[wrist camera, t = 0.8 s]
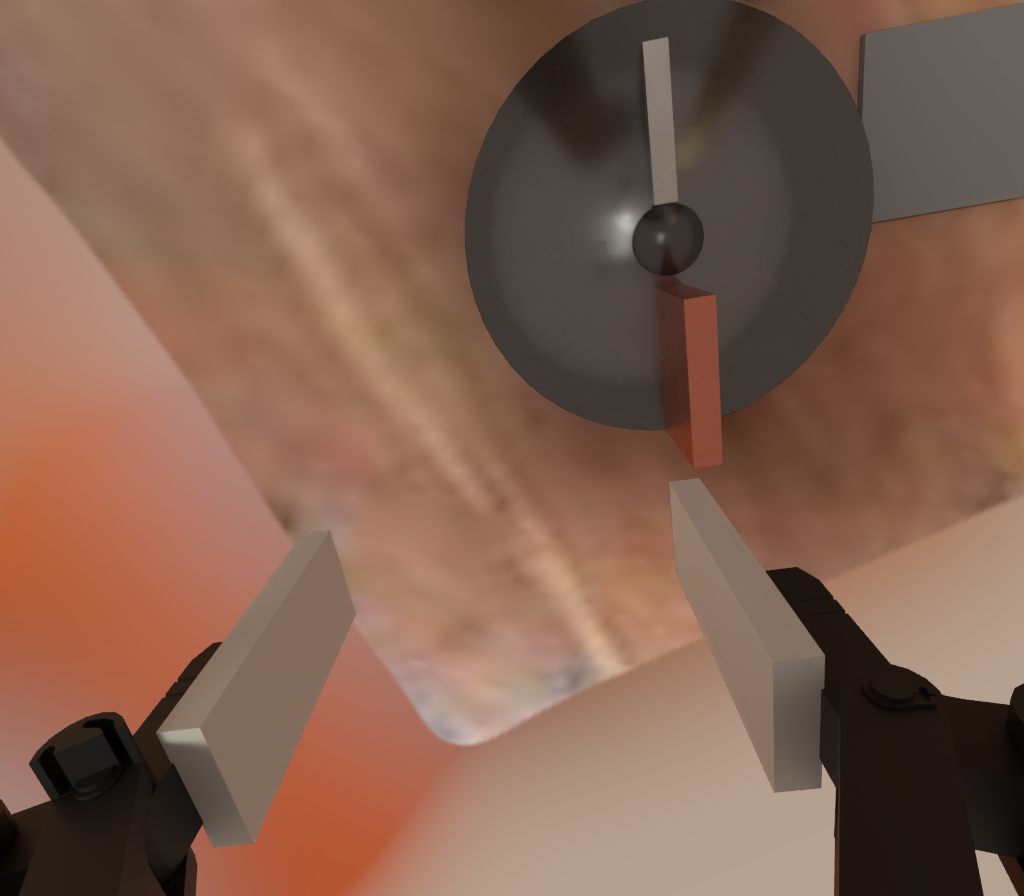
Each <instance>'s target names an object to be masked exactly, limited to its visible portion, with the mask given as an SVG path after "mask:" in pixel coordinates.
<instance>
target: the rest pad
mask: <svg viewBox="0 0 1024 896" xmlns="http://www.w3.org/2000/svg"><path fill="white" fill-rule="evenodd" d="M858 112H859V114H860V116H861V119H862V122H863V126H864V129H865V133H866V136H867V140H868V143H869V148H870V155H871V161H872V168H873V180H874V207H873V216H872V223H873V222H879V221H885V220H890V219H896V218H902V217H908V216H914V215H920V214H925V213H931V212H937V211H943V210H949V209H955V208H961V207H966V206H972V205H978V204H984V203H990V202H996V201H1002V200H1007V199H1013V198H1019V197H1024V3H1020V4H1014V5H1009V6H1004V7H999V8H994V9H989V10H984V11H979V12H974V13H969V14H963V15H958V16H953V17H948V18H943V19H938V20H933V21H928V22H923V23H917V24H912V25H907V26H902V27H897V28H892V29H887V30H882V31H877V32H872V33H866V34H864V35H863V36H861V42H860V67H859V93H858Z"/></svg>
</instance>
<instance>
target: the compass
mask: <svg viewBox="0 0 1024 896" xmlns="http://www.w3.org/2000/svg"><path fill="white" fill-rule="evenodd" d="M873 207H874V180H873V168H872V161H871V155H870V148H869V143H868V140H867V136H866V133H865V129H864V126H863V122H862V119H861V116H860V114H859V112H858V110H857V108H856V105H855V103H854V101H853V99H852V96H851V94H850V92H849V90H848V89H847V87H846V86H845V84H844V82H843V81H842V79H841V78H840V76H839V75H838V73H837V72H836V70H835V69H834V67H833V66H832V65H831V64H830V63H829V61H828V60H827V59H826V58H825V57H824V56H823V55H822V54H821V52H820V51H819V50H818V49H817V48H816V47H815V46H814V45H813V44H812V43H811V42H809V41H808V40H807V39H806V38H805V37H803V36H802V35H801V34H800V33H798V32H797V31H796V30H795V29H793V28H792V27H791V26H789V25H787V24H786V23H784V22H782V21H780V20H779V19H777V18H775V17H773V16H772V15H770V14H768V13H766V12H764V11H761V10H758V9H755V8H753V7H750V6H747V5H745V4H742V3H739V2H734V1H729V0H646V1H643V2H639V3H636V4H632V5H629V6H625V7H622V8H619V9H616V10H614V11H612V12H610V13H608V14H605V15H603V16H601V17H599V18H597V19H594V20H592V21H590V22H589V23H587V24H585V25H584V26H582V27H581V28H579V29H578V30H576V31H574V32H573V33H571V34H570V35H568V36H567V37H565V38H564V39H562V40H561V41H560V42H559V43H558V44H556V45H555V46H554V47H553V48H552V49H551V50H549V51H548V52H547V53H546V54H545V55H543V56H542V57H541V58H540V59H539V60H538V61H537V62H536V63H535V64H534V66H533V67H532V68H531V69H530V70H529V71H528V72H527V73H526V74H525V75H524V76H523V78H522V79H521V80H520V81H519V82H518V84H517V85H516V86H515V88H514V89H513V91H512V92H511V94H510V95H509V96H508V98H507V99H506V101H505V102H504V103H503V105H502V106H501V108H500V110H499V112H498V114H497V116H496V117H495V119H494V121H493V123H492V125H491V127H490V129H489V131H488V132H487V134H486V137H485V140H484V142H483V145H482V147H481V150H480V153H479V155H478V158H477V160H476V164H475V168H474V172H473V176H472V180H471V184H470V188H469V193H468V201H467V209H466V217H465V250H466V258H467V267H468V274H469V278H470V282H471V286H472V290H473V294H474V298H475V301H476V304H477V307H478V309H479V312H480V314H481V317H482V319H483V322H484V324H485V326H486V328H487V330H488V332H489V334H490V335H491V337H492V339H493V341H494V343H495V345H496V346H497V348H498V349H499V350H500V352H501V353H502V354H503V356H504V357H505V359H506V360H507V361H508V363H509V364H510V365H511V366H512V368H513V369H514V370H515V371H516V372H517V373H518V374H519V375H520V376H521V377H522V378H523V379H524V380H525V381H526V382H527V383H528V384H529V385H530V386H532V387H533V388H534V389H535V390H536V391H538V392H539V393H540V394H541V395H543V396H544V397H545V398H547V399H548V400H550V401H552V402H553V403H555V404H557V405H558V406H560V407H561V408H563V409H565V410H567V411H569V412H571V413H574V414H576V415H578V416H580V417H583V418H585V419H587V420H591V421H594V422H598V423H601V424H604V425H608V426H613V427H619V428H625V429H632V430H664V429H666V430H667V432H668V433H669V434H670V436H671V437H672V439H673V440H674V441H675V443H676V444H677V446H678V447H679V448H680V450H681V451H682V453H683V454H684V455H685V457H686V458H687V460H688V461H689V462H690V464H691V465H692V466H693V468H700V467H707V466H714V465H721V464H723V456H722V431H721V417H722V416H725V415H727V414H730V413H732V412H734V411H736V410H738V409H740V408H742V407H745V406H747V405H749V404H750V403H752V402H753V401H755V400H757V399H758V398H760V397H762V396H763V395H765V394H766V393H768V392H770V391H771V390H772V389H774V388H775V387H776V386H777V385H779V384H780V383H781V382H782V381H784V380H785V379H786V378H788V377H789V376H790V375H791V374H792V373H793V372H794V371H795V370H796V369H797V368H798V367H799V366H800V365H801V364H802V363H803V362H805V361H806V360H807V359H808V358H809V357H810V355H811V354H812V353H813V352H814V350H815V349H816V348H817V347H818V346H819V344H820V343H821V342H822V341H823V339H824V338H825V337H826V336H827V334H828V333H829V331H830V330H831V328H832V327H833V325H834V324H835V322H836V320H837V319H838V317H839V316H840V314H841V313H842V311H843V309H844V307H845V305H846V303H847V301H848V299H849V297H850V295H851V293H852V291H853V289H854V287H855V284H856V281H857V278H858V276H859V273H860V270H861V267H862V265H863V262H864V258H865V254H866V250H867V246H868V241H869V237H870V233H871V224H872V216H873Z"/></svg>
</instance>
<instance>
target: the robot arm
mask: <svg viewBox="0 0 1024 896" xmlns="http://www.w3.org/2000/svg"><path fill="white" fill-rule="evenodd" d="M669 488H670V501H671V514H672V527H673V540H674V553H675V565H676V573H677V576H678V578H679V580H680V582H681V584H682V587H683V589H684V591H685V593H686V596H687V598H688V600H689V602H690V605H691V607H692V609H693V611H694V614H695V616H696V618H697V620H698V623H699V625H700V627H701V629H702V632H703V634H704V636H705V638H706V641H707V643H708V645H709V647H710V649H711V652H712V654H713V656H714V659H715V661H716V663H717V665H718V668H719V670H720V672H721V674H722V677H723V679H724V681H725V683H726V686H727V688H728V690H729V692H730V694H731V697H732V699H733V701H734V704H735V706H736V708H737V710H738V713H739V714H740V717H741V719H742V721H743V724H744V725H745V728H746V730H747V733H748V735H749V737H750V739H751V742H752V744H753V746H754V748H755V751H756V753H757V755H758V757H759V760H760V762H761V764H762V766H763V769H764V771H765V773H766V775H767V777H768V780H769V782H770V784H771V787H772V789H773V791H774V792H786V791H795V790H805V789H816V788H821V777H822V764H823V765H824V767H825V769H826V771H827V773H828V774H829V776H830V778H831V780H832V781H833V783H834V785H835V787H836V803H835V804H836V805H835V827H834V838H835V875H834V896H984V895H983V890H982V885H981V879H980V874H979V869H978V864H977V859H976V854H975V850H980V851H985V852H990V853H995V854H998V856H999V858H1000V860H1001V862H1002V864H1003V866H1004V868H1005V870H1006V872H1007V874H1008V876H1009V878H1010V880H1011V882H1012V884H1013V886H1014V888H1015V890H1016V892H1017V894H1018V895H1019V896H1024V684H1022V685H1020V686H1018V687H1016V688H1015V689H1014V691H1013V694H1012V697H1011V700H1010V705H1006V704H997V703H990V702H982V701H974V700H966V699H960V698H954V697H950V696H945V695H942V694H941V692H940V691H939V690H938V689H937V688H936V687H935V686H934V685H933V684H932V683H930V682H929V681H928V680H927V679H926V678H924V677H922V676H920V675H918V674H916V673H915V672H913V671H911V670H909V669H906V668H903V667H899V666H896V665H892V664H890V663H889V662H888V661H887V659H886V658H885V657H884V656H883V655H882V654H881V652H880V651H879V650H878V649H877V648H876V646H875V645H874V644H873V643H872V642H871V641H870V639H869V638H868V637H867V636H866V635H865V633H864V632H863V631H862V630H861V629H860V628H859V626H858V625H857V624H856V623H855V622H854V621H853V620H852V618H851V617H850V616H849V615H848V614H846V613H845V610H844V609H843V608H842V607H841V605H840V604H839V603H838V602H837V601H836V600H834V599H833V596H832V595H831V593H830V592H829V591H828V590H827V589H826V588H825V586H824V585H823V584H822V583H821V582H820V580H818V579H817V578H815V577H813V576H811V575H810V574H808V573H806V572H805V571H803V570H801V569H799V568H798V567H793V568H785V569H777V570H769V571H765V570H764V569H763V567H762V566H761V565H760V563H759V562H758V560H757V559H756V558H755V556H754V555H753V553H752V552H751V551H750V549H749V548H748V546H747V545H746V543H745V542H744V541H743V539H742V538H741V536H740V535H739V534H738V532H737V531H736V529H735V528H734V527H733V525H732V524H731V522H730V521H729V520H728V518H727V517H726V515H725V514H724V513H723V511H722V510H721V508H720V507H719V505H718V504H717V503H716V501H715V500H714V498H713V497H712V496H711V494H710V493H709V491H708V490H707V489H706V487H705V486H704V484H703V483H702V482H701V480H700V479H699V478H694V479H687V480H680V481H673V482H669ZM355 615H356V612H355V608H354V605H353V602H352V599H351V596H350V592H349V589H348V586H347V583H346V580H345V577H344V573H343V570H342V567H341V564H340V561H339V557H338V554H337V551H336V548H335V545H334V542H333V538H332V535H331V532H330V530H326V531H319V532H312V533H305V534H302V536H301V537H300V538H299V540H298V541H297V542H296V544H295V545H294V546H293V548H292V549H291V551H290V552H289V553H288V555H287V556H286V558H285V559H284V560H283V561H282V563H281V564H280V565H279V567H278V568H277V569H276V571H275V572H274V574H273V575H272V576H271V578H270V579H269V580H268V582H267V583H266V584H265V586H264V587H263V588H262V590H261V591H260V593H259V594H258V595H257V597H256V598H255V599H254V601H253V602H252V603H251V605H250V606H249V607H248V609H247V610H246V611H245V613H244V614H243V615H242V617H241V618H240V620H239V621H238V622H237V624H236V625H235V626H234V628H233V629H232V630H231V632H230V633H229V635H228V636H227V637H226V639H225V640H224V641H223V642H217V643H213V644H212V645H210V646H209V647H208V648H207V649H205V650H204V651H203V652H202V653H200V654H199V655H198V656H197V657H195V658H194V659H193V660H192V661H191V662H190V663H189V665H188V666H187V667H186V669H185V670H184V671H183V672H182V674H181V675H180V676H179V678H178V682H175V683H174V684H173V685H172V687H171V688H170V689H169V691H168V692H167V693H166V697H165V698H162V699H161V701H160V702H159V703H158V705H157V706H156V707H155V708H154V710H153V711H152V712H151V714H150V715H149V716H148V717H147V719H146V720H145V721H144V722H143V724H142V725H141V726H140V728H139V729H138V730H137V731H136V733H135V734H134V735H133V736H132V734H131V732H130V730H129V728H128V726H127V725H126V723H125V721H124V719H123V717H122V716H120V715H119V714H117V713H115V712H102V713H99V714H95V715H92V716H89V717H85V718H84V719H82V720H79V721H77V722H75V723H73V724H71V725H69V726H68V727H66V728H65V729H63V730H62V731H60V732H59V733H57V734H56V735H54V736H53V737H51V738H50V739H49V740H48V741H47V742H46V743H45V744H44V745H43V746H42V747H41V748H40V749H39V750H38V751H37V752H36V753H35V755H34V757H33V758H32V759H31V761H30V762H29V765H30V767H31V768H32V770H33V772H34V773H35V775H36V777H37V778H38V780H39V781H40V783H41V785H42V786H43V788H44V789H45V791H46V793H47V794H48V796H49V797H50V799H51V801H48V802H45V803H42V804H40V805H37V806H34V807H31V808H29V809H26V810H23V811H20V812H18V813H15V814H12V815H11V813H10V812H9V810H8V809H7V807H6V806H5V804H4V803H3V801H2V800H1V799H0V896H196V895H195V894H196V878H197V862H196V857H195V854H194V852H193V850H192V849H191V847H190V846H191V844H192V842H193V840H194V839H195V837H196V835H197V833H198V831H199V830H200V828H201V826H202V825H203V827H204V829H205V831H206V833H207V835H208V837H209V839H210V841H211V843H212V845H213V847H223V846H233V845H244V844H253V843H254V842H255V840H256V837H257V835H258V833H259V831H260V828H261V826H262V824H263V822H264V820H265V817H266V815H267V812H268V810H269V808H270V806H271V804H272V802H273V799H274V797H275V795H276V793H277V790H278V788H279V786H280V783H281V781H282V779H283V776H284V775H285V772H286V770H287V768H288V766H289V763H290V761H291V759H292V757H293V754H294V752H295V750H296V748H297V745H298V743H299V740H300V739H301V736H302V734H303V732H304V730H305V727H306V725H307V722H308V720H309V718H310V716H311V714H312V712H313V709H314V707H315V705H316V703H317V700H318V698H319V696H320V693H321V691H322V689H323V687H324V685H325V682H326V680H327V678H328V676H329V673H330V671H331V669H332V666H333V664H334V662H335V660H336V658H337V655H338V653H339V651H340V649H341V646H342V644H343V642H344V640H345V637H346V635H347V633H348V630H349V628H350V626H351V624H352V622H353V619H354V617H355Z"/></svg>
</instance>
